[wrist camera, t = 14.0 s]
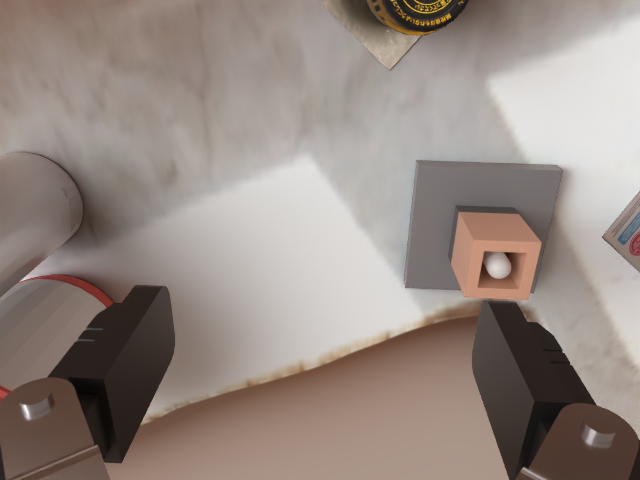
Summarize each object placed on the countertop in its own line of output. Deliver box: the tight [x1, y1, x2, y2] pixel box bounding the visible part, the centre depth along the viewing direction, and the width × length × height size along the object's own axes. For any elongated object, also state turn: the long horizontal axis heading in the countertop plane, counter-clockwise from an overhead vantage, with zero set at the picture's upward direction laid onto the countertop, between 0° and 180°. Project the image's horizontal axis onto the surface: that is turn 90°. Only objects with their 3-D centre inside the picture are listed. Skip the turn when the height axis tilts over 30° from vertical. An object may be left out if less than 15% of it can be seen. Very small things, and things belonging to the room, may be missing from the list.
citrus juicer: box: [0, 275, 113, 402], centre depth 44 cm, size 16×17×20 cm
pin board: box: [404, 160, 563, 293], centre depth 42 cm, size 12×12×9 cm
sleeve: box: [448, 205, 542, 300], centre depth 42 cm, size 5×5×7 cm
